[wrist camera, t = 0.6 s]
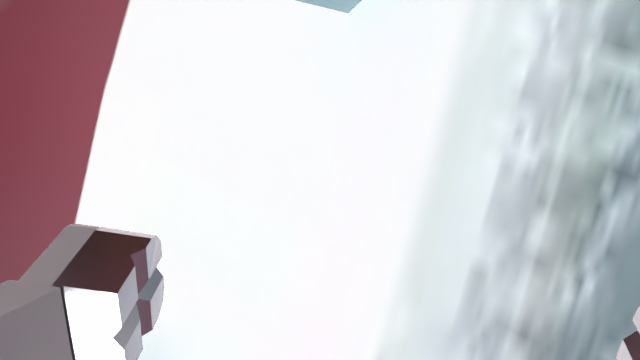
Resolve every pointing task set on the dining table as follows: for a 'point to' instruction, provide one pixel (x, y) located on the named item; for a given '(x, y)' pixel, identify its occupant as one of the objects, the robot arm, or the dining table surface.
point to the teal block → (334, 4)
